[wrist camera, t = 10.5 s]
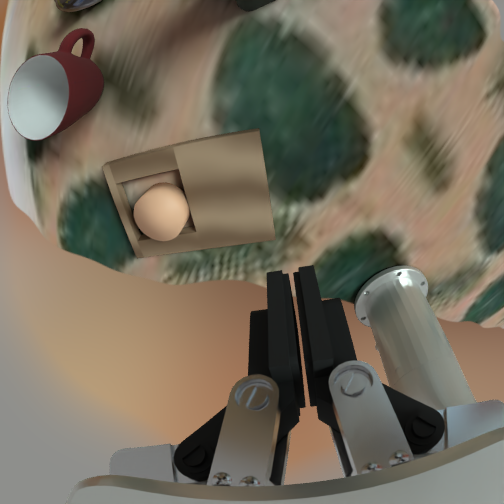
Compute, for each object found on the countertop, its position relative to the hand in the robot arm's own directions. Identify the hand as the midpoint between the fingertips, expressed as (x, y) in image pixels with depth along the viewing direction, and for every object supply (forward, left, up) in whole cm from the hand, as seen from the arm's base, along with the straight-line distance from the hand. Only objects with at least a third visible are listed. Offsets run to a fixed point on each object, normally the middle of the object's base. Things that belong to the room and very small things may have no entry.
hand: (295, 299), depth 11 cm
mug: (+13, +18, -23) cm, 32 cm away
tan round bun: (-5, +13, -23) cm, 27 cm away
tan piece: (-5, +10, -23) cm, 26 cm away
